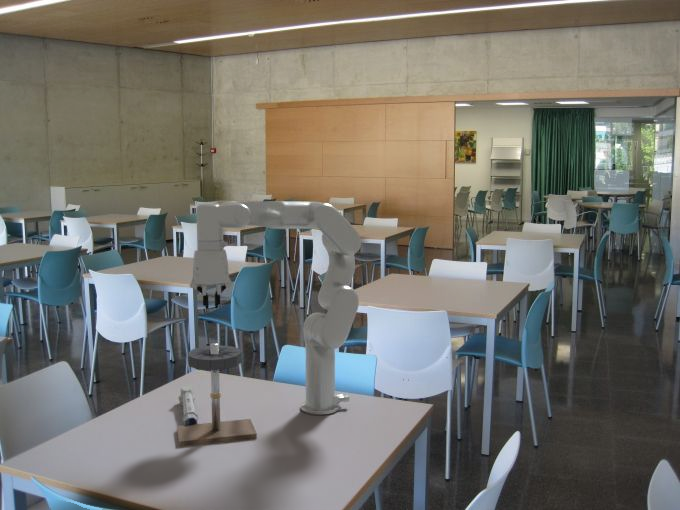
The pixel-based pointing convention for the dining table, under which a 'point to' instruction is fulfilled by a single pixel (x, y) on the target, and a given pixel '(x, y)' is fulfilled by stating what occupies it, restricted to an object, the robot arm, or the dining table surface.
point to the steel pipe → (215, 391)
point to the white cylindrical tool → (188, 405)
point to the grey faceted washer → (214, 358)
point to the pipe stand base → (215, 432)
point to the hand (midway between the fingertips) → (211, 307)
